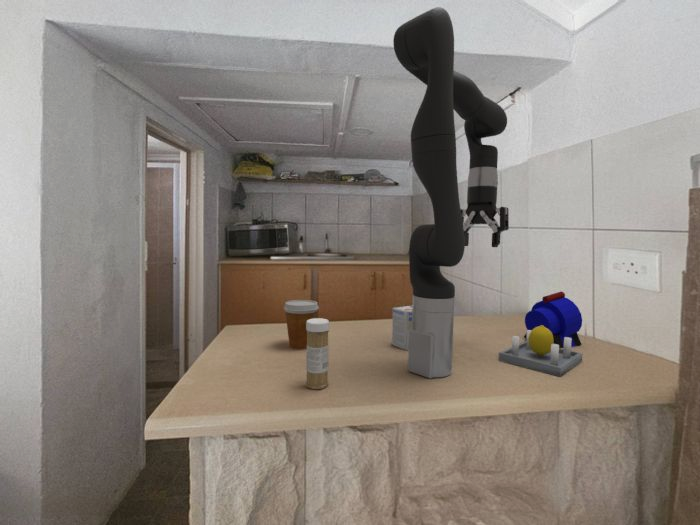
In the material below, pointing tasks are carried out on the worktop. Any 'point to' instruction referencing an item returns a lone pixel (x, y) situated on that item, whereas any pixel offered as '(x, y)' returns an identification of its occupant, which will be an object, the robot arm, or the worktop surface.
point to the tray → (542, 357)
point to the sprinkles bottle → (317, 353)
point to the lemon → (541, 340)
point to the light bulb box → (401, 326)
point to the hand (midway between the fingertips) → (479, 246)
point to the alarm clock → (556, 318)
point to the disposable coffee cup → (299, 321)
